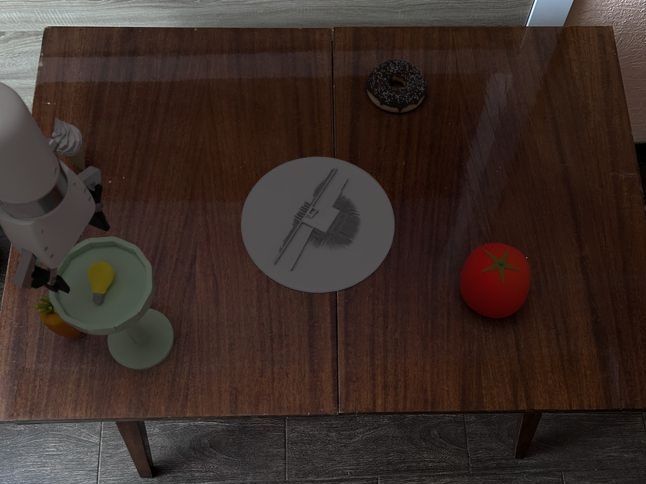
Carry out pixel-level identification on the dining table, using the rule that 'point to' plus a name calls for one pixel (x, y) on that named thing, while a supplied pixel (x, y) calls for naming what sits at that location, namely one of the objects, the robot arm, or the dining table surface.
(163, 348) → the stand
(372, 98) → the donut
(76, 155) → the ice cream cone
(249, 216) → the plate
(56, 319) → the carrot
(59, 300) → the platter
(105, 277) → the light bulb
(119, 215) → the dining table surface
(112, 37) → the dining table surface
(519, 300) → the tomato
